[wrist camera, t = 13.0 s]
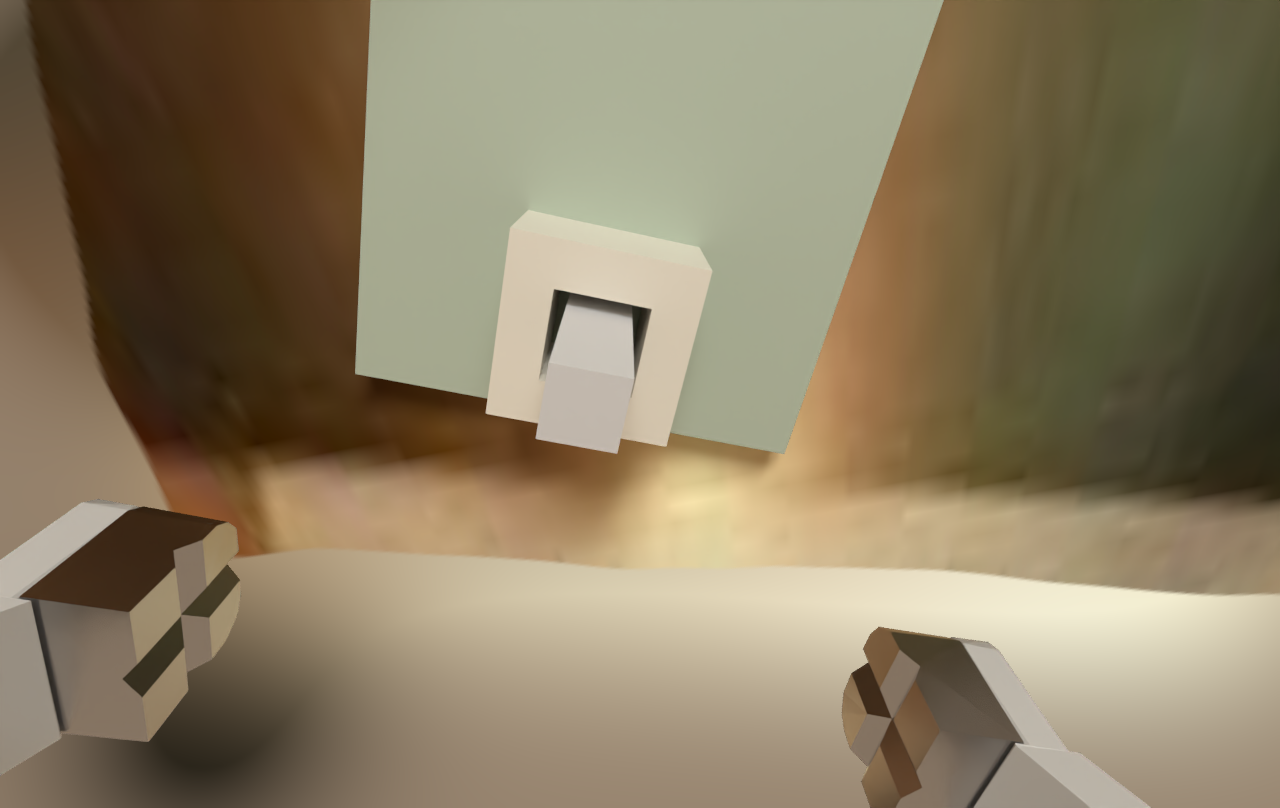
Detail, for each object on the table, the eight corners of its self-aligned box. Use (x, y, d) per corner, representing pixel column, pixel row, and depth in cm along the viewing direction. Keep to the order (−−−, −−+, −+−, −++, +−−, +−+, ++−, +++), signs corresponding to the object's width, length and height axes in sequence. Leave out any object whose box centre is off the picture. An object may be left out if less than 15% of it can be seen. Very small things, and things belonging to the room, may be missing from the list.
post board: (958, -95, 21) (1236, -270, 11) (776, 438, 29) (851, 597, 19) (400, -257, 19) (174, -629, 10) (368, 360, 27) (228, 495, 18)
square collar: (699, 247, 24) (712, 270, 20) (660, 400, 26) (666, 446, 23) (528, 209, 23) (510, 227, 20) (505, 371, 26) (485, 413, 22)
